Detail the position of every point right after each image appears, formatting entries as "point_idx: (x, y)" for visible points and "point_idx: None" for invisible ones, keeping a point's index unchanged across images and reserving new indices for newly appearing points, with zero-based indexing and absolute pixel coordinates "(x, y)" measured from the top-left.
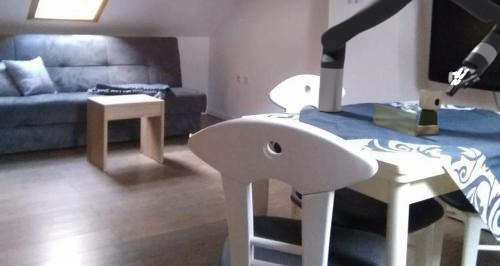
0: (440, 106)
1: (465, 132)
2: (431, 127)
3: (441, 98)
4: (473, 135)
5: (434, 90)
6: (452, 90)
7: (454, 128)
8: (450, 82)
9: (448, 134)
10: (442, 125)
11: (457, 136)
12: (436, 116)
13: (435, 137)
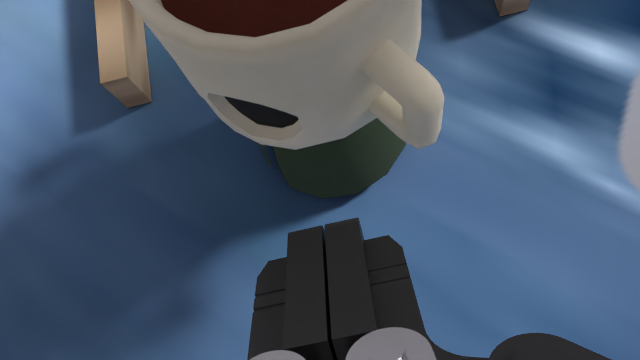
0: (218, 116)
1: (123, 343)
2: (99, 27)
3: (194, 81)
4: (21, 338)
5: (348, 7)
6: (281, 292)
7: None
8: (498, 353)
9: (87, 164)
10: None
11: (21, 193)
12: (312, 163)
13: (31, 35)
